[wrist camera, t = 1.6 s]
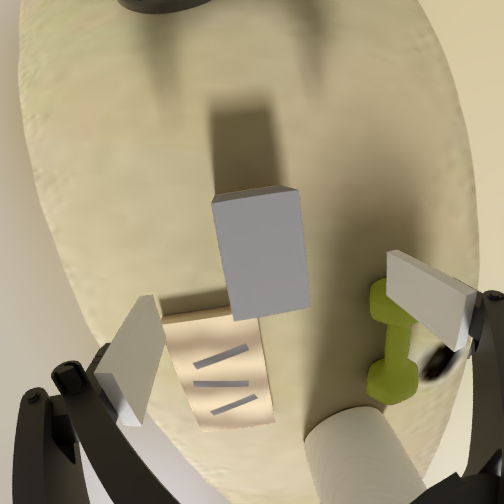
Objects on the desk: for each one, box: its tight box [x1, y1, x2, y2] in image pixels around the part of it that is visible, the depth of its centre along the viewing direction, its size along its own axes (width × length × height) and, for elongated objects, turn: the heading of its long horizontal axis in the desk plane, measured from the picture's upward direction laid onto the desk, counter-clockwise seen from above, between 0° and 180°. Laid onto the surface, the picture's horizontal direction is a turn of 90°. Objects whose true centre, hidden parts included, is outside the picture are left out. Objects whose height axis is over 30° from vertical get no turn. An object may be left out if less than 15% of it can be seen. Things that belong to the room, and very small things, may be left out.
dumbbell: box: [366, 277, 419, 405], centre depth 29 cm, size 16×8×7 cm, turn 10°
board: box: [161, 306, 275, 432], centre depth 31 cm, size 18×10×2 cm, turn 9°
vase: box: [304, 406, 427, 504], centre depth 23 cm, size 14×14×32 cm
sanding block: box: [211, 185, 310, 322], centre depth 24 cm, size 9×6×8 cm, turn 9°
